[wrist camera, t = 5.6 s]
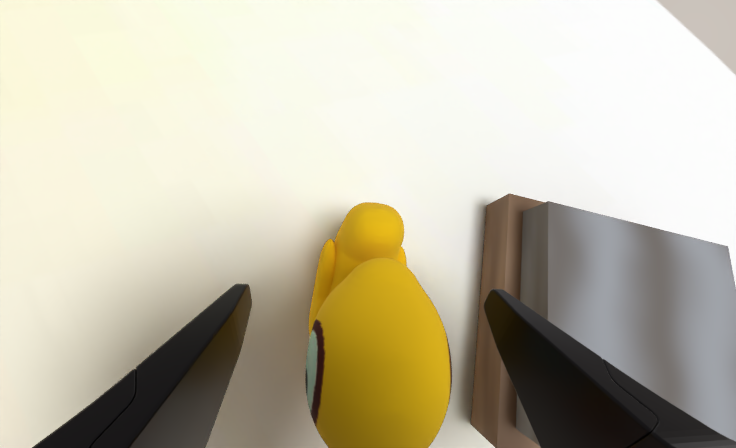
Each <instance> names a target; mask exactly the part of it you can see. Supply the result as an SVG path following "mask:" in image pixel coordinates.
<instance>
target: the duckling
mask: <svg viewBox="0 0 736 448" xmlns="http://www.w3.org/2000/svg"><path fill="white" fill-rule="evenodd" d="M403 237H404V225H403V221H402V218H401V216H400V215H399V213H398V212H397V211H396V210H395V209H394V208H392V207H390V206H388V205H384V204H379V203H361V204H358V205H356V206H355V207H353V208H352V209H351V210H350V211H349V213H348V214H347V216H346V218H345V219H344V221H343V223H342V225H341V227H340V229H339V231H338V233H337V236H336V239H335V242H334V241H333V240H332V239H329V240H327V242H326V243H325V244H324V246H323V249H322V251H321V254H320V258H319V263H318V268H317V274H316V279H315V285H314V290H313V296H312V302H311V307H310V314H309V335H310V340H309V345H308V351H307V359H306V393H307V400H308V405H309V409H310V412H311V416H312V418H313V421H314V423H315V426H316V428H317V430H318V432H319V434H320V436H321V437H322V439H323V440H324V442H325V443H326V445H327V446H328V447H329V448H428V447H429V446H430V444H431V443H432V442H433V440H434V439H435V437H436V435H437V434H438V432H439V430H440V427H441V425H442V423H443V420H444V418H445V415H446V411H447V408H448V404H449V399H450V393H451V383H452V366H451V356H450V349H449V344H448V340H447V336H446V332H445V329H444V326H443V323H442V321H441V319H440V316H439V314H438V312H437V310H436V308H435V307H434V305H433V303H432V302H431V300H430V299H429V297H428V296H427V294H426V293H425V292H424V290H423V289H422V287H421V285H420V284H419V282H418V281H417V279H416V277H415V276H414V274H413V273H412V272H411V271H410V270H409V269H408V268H407V265H406V256H405V252H404V249H403V248H402V247H401V245H402V242H403Z"/></svg>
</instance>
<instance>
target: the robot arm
mask: <svg viewBox="0 0 736 448" xmlns="http://www.w3.org/2000/svg"><path fill="white" fill-rule="evenodd" d="M251 306H252V299H251V293H250V287H249V285H248V284H235V285H234V286H232V287H231V288H230V289H229V290H228V291H226V292H225V293H224V294H223V295H222V296H220V297H219V298H218V299H217V300H216V301H214V302H213V303H212V304H211V305H210V306H209V307H207V308H206V309H205V310H204V311H203V312H201V313H200V314H199V315H198V316H197V317H195V318H194V319H193V320H192V321H191V322H189V323H188V324H187V325H186V326H185V327H183V328H182V329H181V330H180V331H179V332H177V333H176V334H175V335H174V336H173V337H171V338H170V339H169V340H168V341H167V342H165V343H164V344H163V345H162V346H161V347H160V348H158V349H157V350H156V351H155V352H154V353H152V354H151V355H150V356H149V357H148V358H146V359H145V360H144V361H143V362H142V363H140V364H139V365H138V366H137V367H136V369H133V370H132V371H131V372H129V373H128V374H127V375H126V376H125V377H124V378H122V379H121V380H120V381H119V382H117V383H116V384H115V385H114V386H113V387H111V388H110V389H109V390H108V391H106V392H105V393H104V394H103V395H101V396H100V397H99V398H98V399H96V400H95V401H94V402H93V403H91V404H90V405H89V406H87V407H86V408H85V409H83V410H82V411H81V412H79V413H78V414H77V415H75V416H74V417H73V418H71V419H70V420H69V421H68V422H66V423H65V424H63V425H62V426H61V427H59V428H58V429H57V430H55V431H54V432H53V433H51V434H50V435H49V436H47V437H46V438H44V439H43V440H42V441H40V442H39V443H38V444H36V445H35V446H34V447H32V448H205V447H206V444H207V442H208V439H209V436H210V433H211V431H212V428H213V425H214V423H215V420H216V417H217V414H218V412H219V409H220V406H221V403H222V401H223V398H224V395H225V392H226V390H227V387H228V384H229V381H230V379H231V376H232V373H233V371H234V368H235V365H236V362H237V360H238V357H239V354H240V351H241V347H242V343H243V339H244V335H245V331H246V327H247V323H248V319H249V315H250V310H251ZM484 311H485V314H486V317H487V320H488V323H489V326H490V329H491V332H492V335H493V339H494V341H495V344H496V347H497V349H498V352H499V354H500V356H501V359H502V361H503V363H504V366H505V368H506V370H507V372H508V375H509V377H510V379H511V381H512V384H513V386H514V388H515V390H516V393H517V395H518V397H519V400H520V402H521V404H522V406H523V409H524V411H525V413H526V415H527V418H528V420H529V422H530V425H531V427H532V429H533V431H534V434H535V436H536V438H537V440H538V443H539V445H540V447H541V448H736V441H734V440H732V439H730V438H728V437H726V436H724V435H722V434H720V433H718V432H717V431H715V430H713V429H712V428H710V427H708V426H707V425H705V424H704V423H702V422H700V421H699V420H697V419H696V418H694V417H692V416H691V415H689V414H688V413H686V412H684V411H683V410H681V409H680V408H678V407H677V406H675V405H673V404H672V403H670V402H669V401H667V400H665V399H664V398H662V397H661V396H659V395H657V394H656V393H654V392H653V391H651V390H650V389H648V388H646V387H645V386H643V385H642V384H640V383H639V382H637V381H635V380H634V379H632V378H631V377H630V376H628V375H627V374H625V373H624V372H622V371H621V370H619V369H618V368H616V367H615V366H613V365H612V364H610V363H609V362H608V361H606V360H605V359H602V358H601V357H600V356H599V355H597V354H596V353H594V352H593V351H592V350H590V349H589V348H587V347H586V346H584V345H583V344H581V343H580V342H578V341H577V340H576V339H574V338H573V337H571V336H570V335H568V334H567V333H565V332H564V331H563V330H561V329H560V328H558V327H557V326H555V325H554V324H552V323H551V322H549V321H548V320H547V319H545V318H544V317H542V316H541V315H539V314H538V313H536V312H535V311H534V310H532V309H531V308H529V307H528V306H526V305H525V304H523V303H522V302H520V301H519V300H518V299H516V298H515V297H513V296H512V295H510V294H509V293H507V292H506V291H504V290H503V289H491V290H490V292H489V294H488V296H487V298H486V300H485V302H484Z"/></svg>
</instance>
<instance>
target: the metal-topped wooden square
mask: <svg viewBox="0 0 736 448" xmlns="http://www.w3.org/2000/svg"><path fill="white" fill-rule="evenodd" d="M491 289H503V290H504V291H506V292H507V293H509V294H510V295H512V296H513V297H515V298H516V299H518V300H519V301H520V302H522V303H523V304H525V305H526V306H528V307H529V308H531V309H532V310H534V311H535V312H536V313H538V314H539V315H541V316H542V317H544V318H545V319H547V320H548V321H549V322H551V323H552V324H554V325H555V326H557V327H558V328H560V329H561V330H563V331H564V332H565V333H567V334H568V335H570V336H571V337H573V338H574V339H576V340H577V341H578V342H580V343H581V344H583V345H584V346H586V347H587V348H589V349H590V350H592V351H593V352H594V353H596V354H597V355H599V356H600V357H601V358H602V359H605V360H606V361H608V362H609V363H610V364H612V365H613V366H615V367H616V368H618V369H619V370H621V371H622V372H624V373H625V374H627V375H628V376H630V377H631V378H632V379H634V380H635V381H637V382H639V383H640V384H642V385H643V386H645V387H646V388H648V389H650V390H651V391H653V392H654V393H656V394H657V395H659V396H661V397H662V398H664V399H665V400H667V401H669V402H670V403H672V404H673V405H675V406H677V407H678V408H680V409H681V410H683V411H684V412H686V413H688V414H689V415H691V416H692V417H694V418H696V419H697V420H699V421H700V422H702V423H704V424H705V425H707V426H708V427H710V428H712V429H713V430H715V431H717V432H718V433H720V434H722V435H724V436H726V437H728V438H730V439H732V440H734V441H736V287H735V282H734V276H733V271H732V266H731V260H730V255H729V249H728V246H724V245H720V244H716V243H712V242H708V241H704V240H700V239H696V238H692V237H688V236H684V235H680V234H676V233H672V232H668V231H664V230H660V229H656V228H652V227H648V226H644V225H640V224H636V223H632V222H628V221H625V220H621V219H617V218H613V217H609V216H605V215H601V214H597V213H593V212H589V211H585V210H581V209H577V208H573V207H569V206H565V205H561V204H557V203H553V202H549V201H548V202H541V201H537V200H533V199H529V198H525V197H521V196H517V195H513V194H508V195H506V196H504V197H502V198H500V199H498V200H496V201H494V202H493V203H491V204H489V205H487V208H486V222H485V236H484V249H483V263H482V277H481V291H480V304H479V318H478V332H477V345H476V359H475V373H474V386H473V400H472V414H471V425H472V426H473V427H474V428H475V429H476V430H477V431H479V432H480V433H481V434H482V435H483V436H484V437H485V438H486V439H487V440H488V441H489V442H490V443H491V444H492V445H493V446H494V447H495V448H541V447H540V445H539V443H538V440H537V438H536V436H535V434H534V431H533V429H532V427H531V425H530V422H529V420H528V418H527V415H526V413H525V411H524V409H523V406H522V404H521V402H520V400H519V397H518V395H517V393H516V390H515V388H514V386H513V384H512V381H511V379H510V377H509V375H508V372H507V370H506V368H505V366H504V363H503V361H502V359H501V356H500V354H499V352H498V349H497V347H496V344H495V341H494V339H493V335H492V332H491V329H490V326H489V323H488V320H487V317H486V314H485V311H484V302H485V300H486V298H487V296H488V294H489V292H490V290H491Z"/></svg>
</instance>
